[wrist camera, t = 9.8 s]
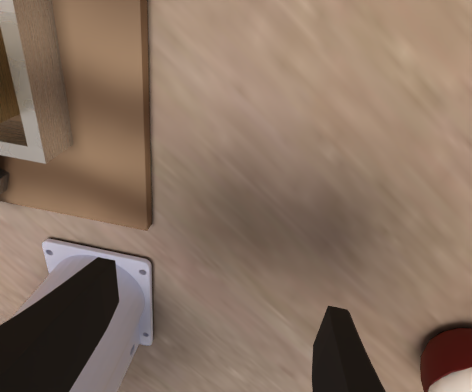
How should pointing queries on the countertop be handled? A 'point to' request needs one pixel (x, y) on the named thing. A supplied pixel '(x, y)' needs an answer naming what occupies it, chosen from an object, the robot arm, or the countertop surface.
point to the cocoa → (448, 362)
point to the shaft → (3, 180)
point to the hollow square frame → (34, 82)
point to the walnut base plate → (97, 119)
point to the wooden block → (6, 87)
